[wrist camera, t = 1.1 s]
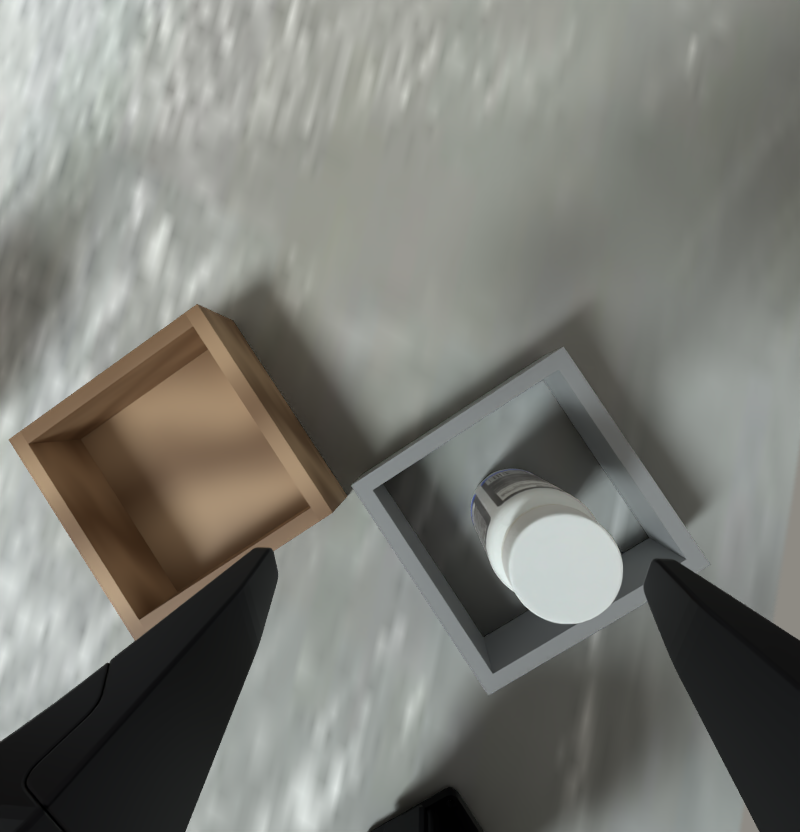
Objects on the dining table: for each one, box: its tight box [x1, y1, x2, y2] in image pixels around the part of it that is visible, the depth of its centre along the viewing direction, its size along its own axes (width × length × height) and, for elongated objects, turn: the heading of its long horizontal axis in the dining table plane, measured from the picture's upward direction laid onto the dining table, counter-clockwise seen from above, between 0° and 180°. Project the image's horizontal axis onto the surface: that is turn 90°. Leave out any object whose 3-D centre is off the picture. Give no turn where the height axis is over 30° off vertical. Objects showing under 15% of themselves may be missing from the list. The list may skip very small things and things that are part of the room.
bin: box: [351, 347, 711, 695], centre depth 20 cm, size 13×13×3 cm
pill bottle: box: [471, 468, 623, 624], centre depth 17 cm, size 5×5×8 cm
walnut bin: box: [9, 304, 347, 641], centre depth 21 cm, size 13×13×4 cm
